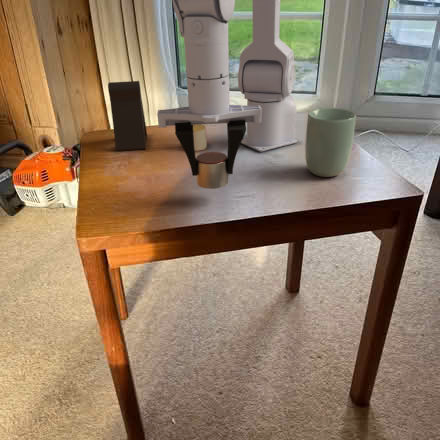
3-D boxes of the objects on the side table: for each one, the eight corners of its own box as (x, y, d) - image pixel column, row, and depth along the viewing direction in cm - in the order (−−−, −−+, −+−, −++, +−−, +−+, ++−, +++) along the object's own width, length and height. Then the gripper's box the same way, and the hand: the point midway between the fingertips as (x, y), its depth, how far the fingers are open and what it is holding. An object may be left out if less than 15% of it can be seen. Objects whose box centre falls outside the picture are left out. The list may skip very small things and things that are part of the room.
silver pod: (217, 174, 72) (216, 149, 70) (234, 183, 69) (233, 158, 67) (191, 181, 70) (189, 156, 68) (207, 191, 67) (206, 165, 65)
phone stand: (145, 149, 92) (137, 86, 85) (116, 151, 91) (105, 88, 84) (147, 136, 99) (140, 76, 92) (120, 137, 99) (110, 78, 92)
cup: (310, 183, 76) (316, 122, 70) (297, 166, 82) (301, 109, 76) (355, 179, 77) (364, 118, 71) (338, 163, 83) (345, 106, 77)
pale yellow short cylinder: (199, 141, 95) (198, 122, 93) (211, 147, 92) (210, 127, 89) (179, 146, 93) (177, 126, 91) (190, 152, 90) (189, 132, 87)
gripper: (151, 84, 57) (162, 185, 65) (265, 79, 57) (262, 180, 66) (155, 73, 63) (165, 167, 71) (259, 68, 63) (257, 162, 71)
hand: (212, 172), depth 69 cm, fingers closed on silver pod, 5 cm apart
